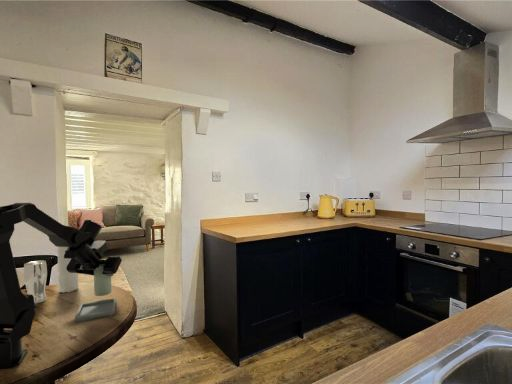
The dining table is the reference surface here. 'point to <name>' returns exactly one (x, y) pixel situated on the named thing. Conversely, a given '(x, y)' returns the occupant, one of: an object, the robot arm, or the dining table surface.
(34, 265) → the beer glass
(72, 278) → the white milk bottle
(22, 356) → the robot arm
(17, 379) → the dining table surface
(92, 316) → the tray
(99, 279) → the sage green mushroom knob
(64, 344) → the dining table surface
